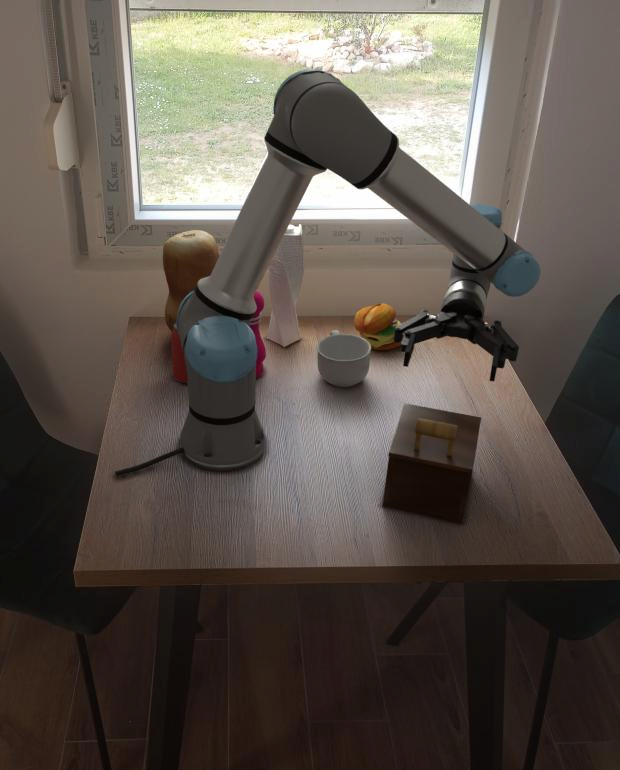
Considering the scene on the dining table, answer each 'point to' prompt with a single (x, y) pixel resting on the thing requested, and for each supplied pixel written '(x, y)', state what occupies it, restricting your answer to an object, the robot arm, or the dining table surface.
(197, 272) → the butternut squash
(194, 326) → the robot arm
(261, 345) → the pepper mill
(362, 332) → the cheeseburger
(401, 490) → the caddy
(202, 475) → the dining table surface
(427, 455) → the lid
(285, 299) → the skyscraper
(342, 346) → the teacup
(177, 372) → the beer can
